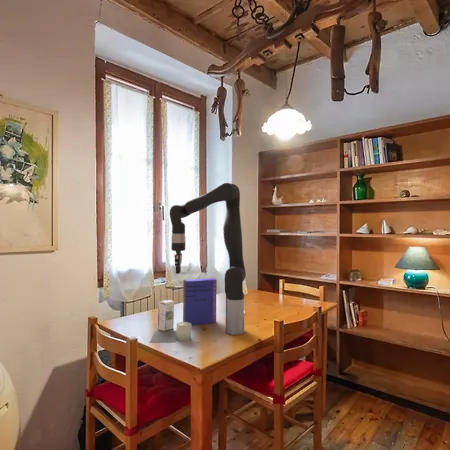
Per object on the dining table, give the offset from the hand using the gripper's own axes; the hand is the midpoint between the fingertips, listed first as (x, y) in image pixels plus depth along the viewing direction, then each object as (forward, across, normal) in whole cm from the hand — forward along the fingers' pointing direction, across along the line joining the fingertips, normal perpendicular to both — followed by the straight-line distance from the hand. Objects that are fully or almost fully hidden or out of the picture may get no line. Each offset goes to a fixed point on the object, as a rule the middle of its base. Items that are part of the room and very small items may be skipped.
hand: (178, 272), depth 187 cm
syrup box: (+27, -12, +5) cm, 30 cm away
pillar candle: (+27, -26, -5) cm, 38 cm away
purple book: (+28, -1, -12) cm, 30 cm away
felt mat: (+27, -23, +4) cm, 36 cm away
